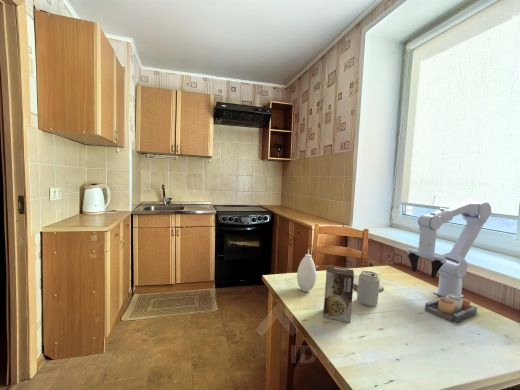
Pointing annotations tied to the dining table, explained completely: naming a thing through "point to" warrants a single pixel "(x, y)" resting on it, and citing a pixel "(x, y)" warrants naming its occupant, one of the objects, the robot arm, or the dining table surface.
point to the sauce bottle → (306, 273)
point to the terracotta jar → (446, 306)
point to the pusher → (464, 303)
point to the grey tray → (455, 318)
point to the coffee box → (338, 293)
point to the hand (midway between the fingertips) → (423, 274)
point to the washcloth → (356, 280)
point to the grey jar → (456, 302)
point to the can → (368, 288)
